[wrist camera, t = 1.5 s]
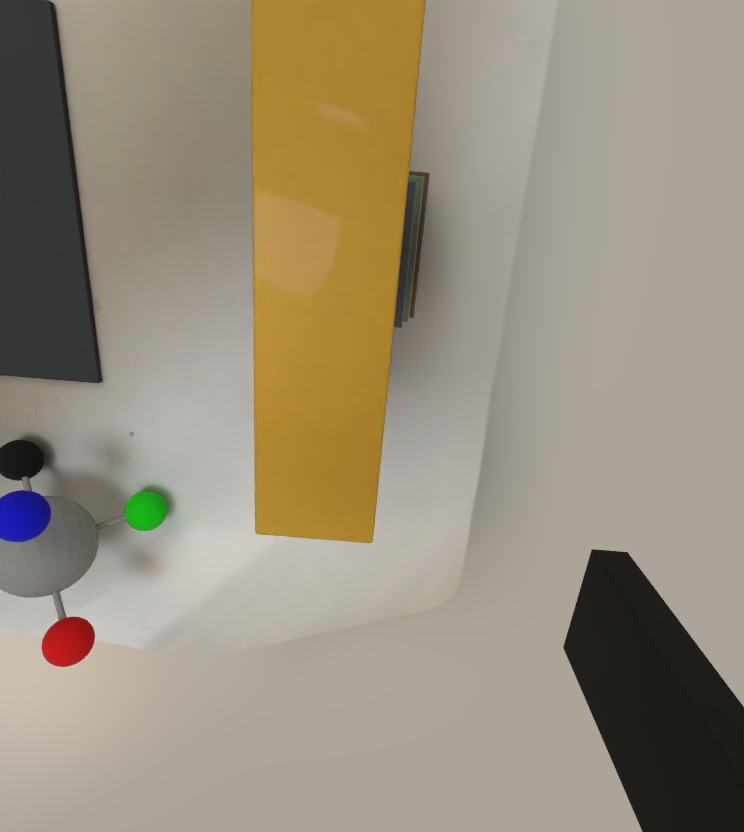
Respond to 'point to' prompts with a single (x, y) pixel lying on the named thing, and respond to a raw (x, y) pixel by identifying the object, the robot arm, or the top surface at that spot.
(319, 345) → the bar
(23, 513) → the molecular model
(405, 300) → the tower
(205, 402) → the top surface
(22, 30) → the mat
